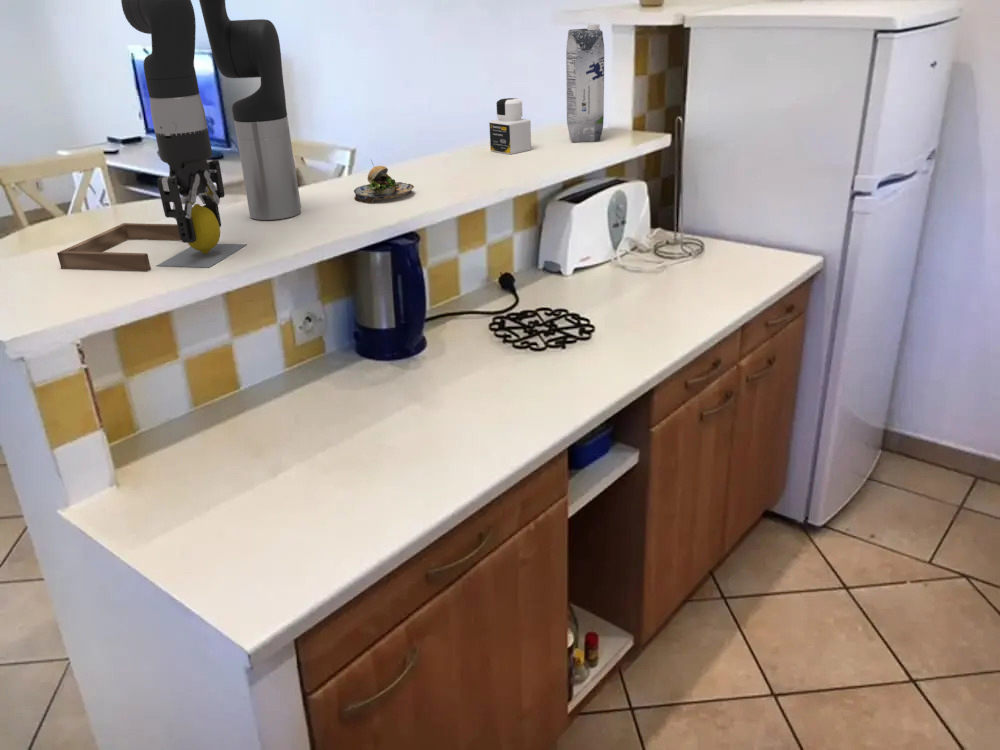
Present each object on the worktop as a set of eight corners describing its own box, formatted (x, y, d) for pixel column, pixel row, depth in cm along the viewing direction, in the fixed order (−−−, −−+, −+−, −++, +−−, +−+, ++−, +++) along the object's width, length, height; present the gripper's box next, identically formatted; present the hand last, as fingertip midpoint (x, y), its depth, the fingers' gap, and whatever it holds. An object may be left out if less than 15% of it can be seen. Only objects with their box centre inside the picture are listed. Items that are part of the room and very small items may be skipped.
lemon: (229, 249, 137) (220, 199, 134) (215, 258, 132) (206, 207, 129) (196, 249, 137) (187, 200, 134) (181, 259, 132) (171, 208, 129)
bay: (126, 237, 146) (123, 223, 145) (205, 239, 143) (202, 224, 142) (61, 268, 131) (56, 252, 130) (147, 271, 128) (143, 255, 127)
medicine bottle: (490, 151, 204) (487, 99, 199) (511, 146, 208) (509, 96, 203) (510, 154, 199) (508, 101, 194) (531, 150, 203) (530, 98, 198)
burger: (370, 208, 159) (366, 168, 156) (344, 197, 168) (339, 159, 165) (426, 197, 165) (422, 158, 162) (398, 187, 174) (394, 150, 171)
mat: (197, 243, 141) (197, 243, 141) (246, 244, 139) (246, 244, 139) (156, 266, 130) (156, 265, 130) (209, 267, 128) (209, 267, 128)
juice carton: (567, 143, 209) (567, 25, 197) (566, 136, 218) (565, 23, 207) (604, 142, 208) (605, 24, 197) (601, 135, 218) (602, 21, 206)
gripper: (184, 119, 133) (204, 222, 140) (130, 135, 121) (154, 247, 128) (227, 119, 132) (245, 223, 139) (177, 135, 119) (199, 249, 126)
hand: (202, 234), depth 133 cm, fingers open, 7 cm apart
